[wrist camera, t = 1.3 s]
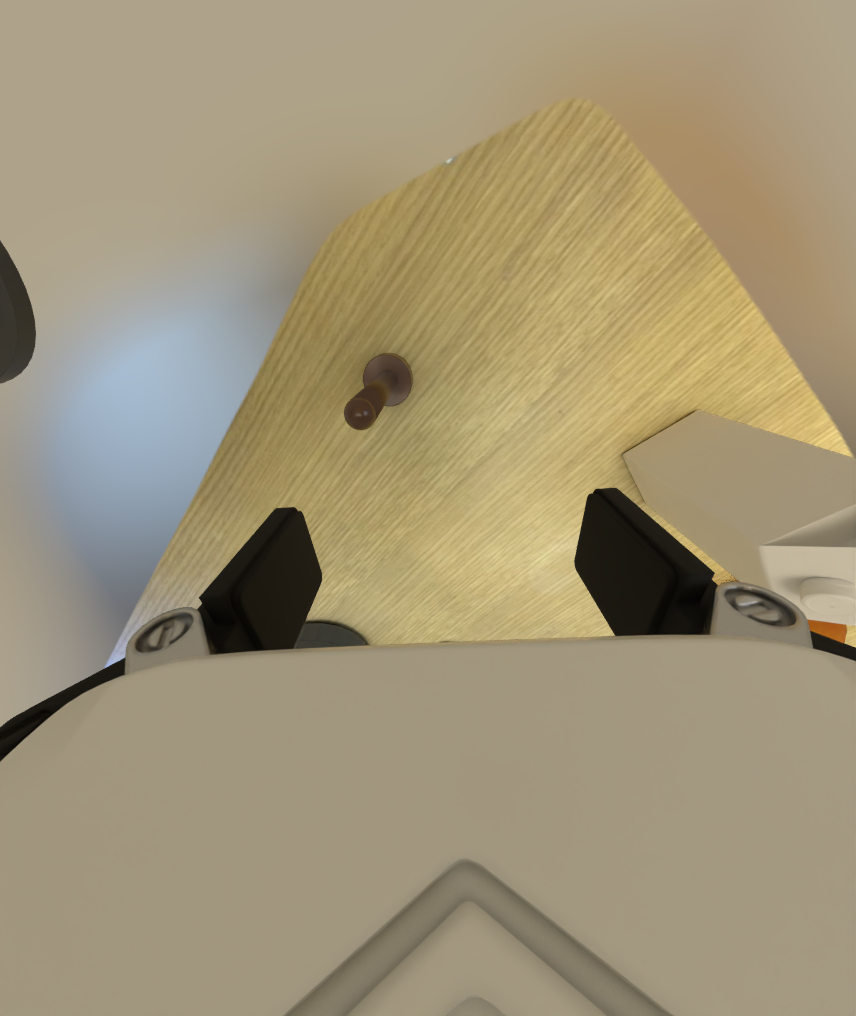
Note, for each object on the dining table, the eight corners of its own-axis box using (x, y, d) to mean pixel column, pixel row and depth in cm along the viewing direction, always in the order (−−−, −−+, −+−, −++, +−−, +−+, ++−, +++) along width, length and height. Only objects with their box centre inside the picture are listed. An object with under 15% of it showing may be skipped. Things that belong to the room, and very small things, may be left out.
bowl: (269, 658, 48) (249, 699, 42) (300, 606, 42) (281, 646, 37) (349, 686, 51) (339, 726, 46) (387, 641, 45) (381, 682, 40)
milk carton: (697, 408, 28) (1060, 519, 12) (716, 466, 31) (1033, 621, 15) (620, 453, 31) (837, 599, 14) (644, 503, 33) (850, 674, 17)
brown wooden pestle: (359, 385, 28) (303, 430, 16) (380, 342, 26) (335, 355, 14) (398, 410, 29) (374, 470, 17) (421, 370, 27) (412, 404, 15)
